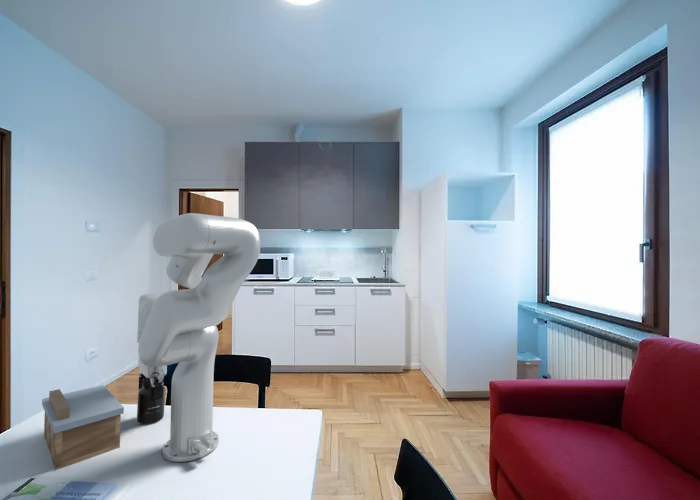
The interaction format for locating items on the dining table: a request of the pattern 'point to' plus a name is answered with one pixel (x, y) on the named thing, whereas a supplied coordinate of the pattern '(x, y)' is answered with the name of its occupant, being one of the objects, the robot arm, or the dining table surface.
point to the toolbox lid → (80, 407)
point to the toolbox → (82, 441)
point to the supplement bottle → (149, 405)
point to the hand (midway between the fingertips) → (150, 394)
